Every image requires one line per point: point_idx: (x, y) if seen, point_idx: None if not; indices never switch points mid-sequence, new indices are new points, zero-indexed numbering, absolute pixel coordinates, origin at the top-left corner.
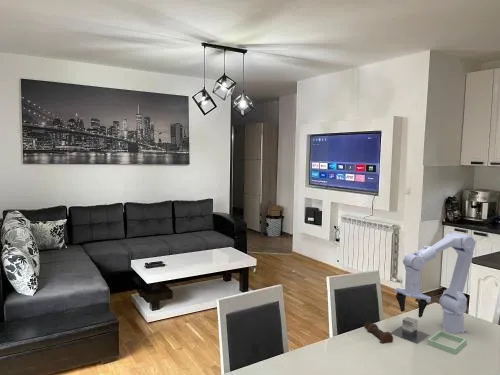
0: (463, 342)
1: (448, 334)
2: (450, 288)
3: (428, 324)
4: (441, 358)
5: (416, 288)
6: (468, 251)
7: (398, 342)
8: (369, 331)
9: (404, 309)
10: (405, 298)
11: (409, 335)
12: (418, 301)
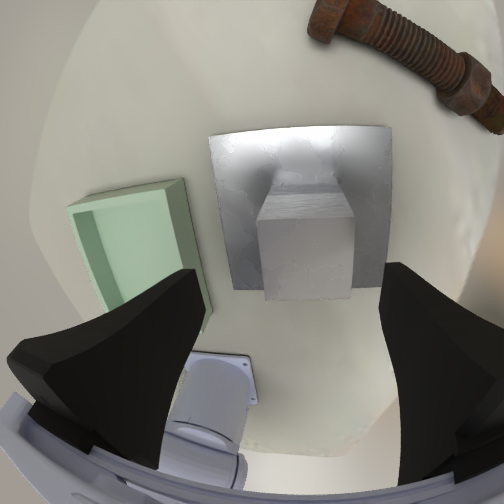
0: (97, 292)
1: None
2: None
3: (305, 376)
4: (98, 137)
5: None
6: None
7: (303, 87)
8: (458, 53)
9: (380, 316)
10: (401, 435)
11: (289, 186)
12: (52, 391)
